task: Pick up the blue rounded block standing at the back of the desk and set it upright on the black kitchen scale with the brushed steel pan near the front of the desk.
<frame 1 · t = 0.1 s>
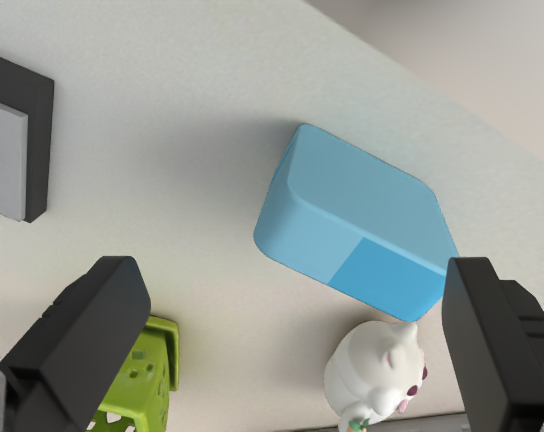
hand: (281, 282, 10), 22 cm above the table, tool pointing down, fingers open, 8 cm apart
blue rounded block: (353, 173, 32), on the table
cat figurine: (369, 341, 42), on the table
flower pot: (138, 335, 48), on the table
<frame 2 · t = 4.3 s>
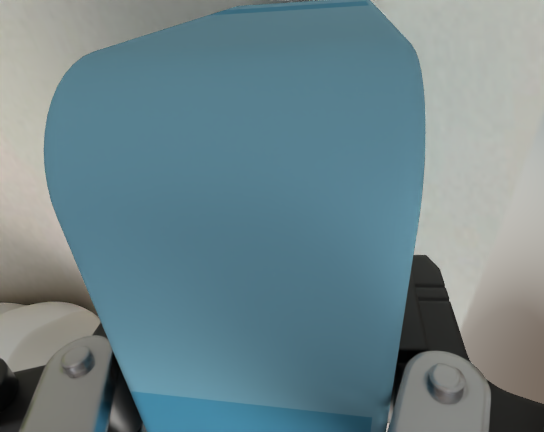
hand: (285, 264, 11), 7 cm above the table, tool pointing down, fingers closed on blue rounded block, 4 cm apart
blue rounded block: (307, 155, 17), on the table, touching gripper
cat figurine: (66, 321, 26), on the table
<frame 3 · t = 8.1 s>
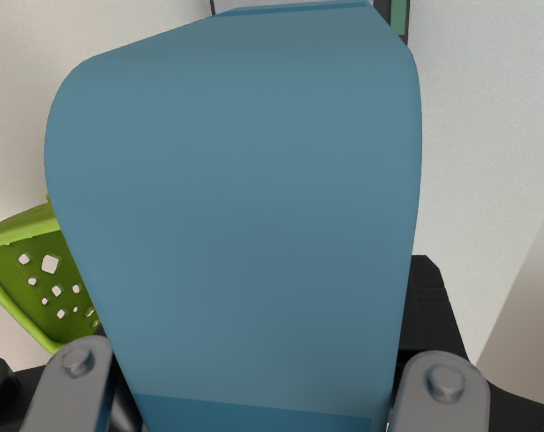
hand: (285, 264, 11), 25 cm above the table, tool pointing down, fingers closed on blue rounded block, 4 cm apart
blue rounded block: (307, 155, 17), point 18 cm above the table, touching gripper
flower pot: (130, 217, 43), on the table
when the fingers open (11 cm above the table, at t = 12.3 s): blue rounded block stays where it is, resting on scale.
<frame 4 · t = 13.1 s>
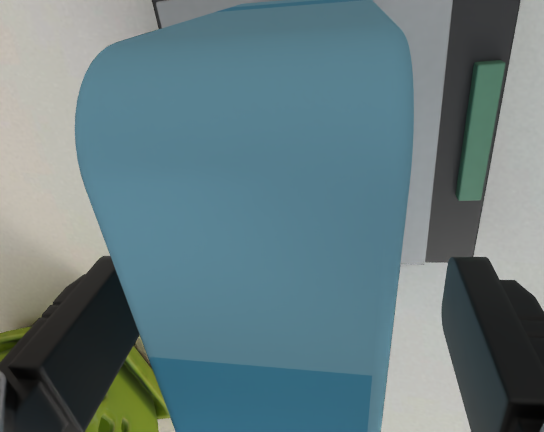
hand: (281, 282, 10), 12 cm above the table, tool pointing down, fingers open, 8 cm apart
scale: (331, 125, 20), on the table
blue rounded block: (310, 148, 18), point 3 cm above the table, touching scale
flower pot: (99, 355, 34), on the table
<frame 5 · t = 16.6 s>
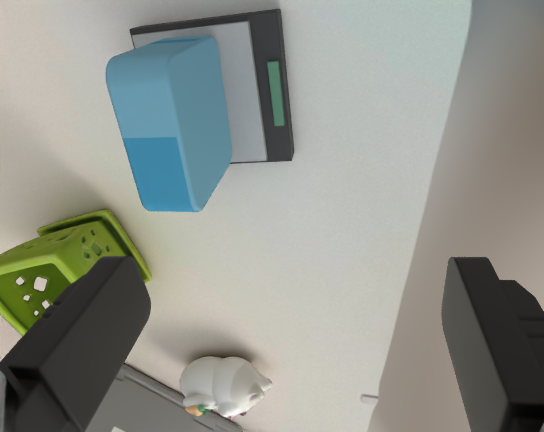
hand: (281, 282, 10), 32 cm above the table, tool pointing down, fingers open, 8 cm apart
scale: (221, 92, 40), on the table
blue rounded block: (204, 101, 38), point 3 cm above the table, touching scale
cat figurine: (230, 362, 64), on the table
laptop: (137, 410, 77), on the table
flower pot: (104, 245, 55), on the table
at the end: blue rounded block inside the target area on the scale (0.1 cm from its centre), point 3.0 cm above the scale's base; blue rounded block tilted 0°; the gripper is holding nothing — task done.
